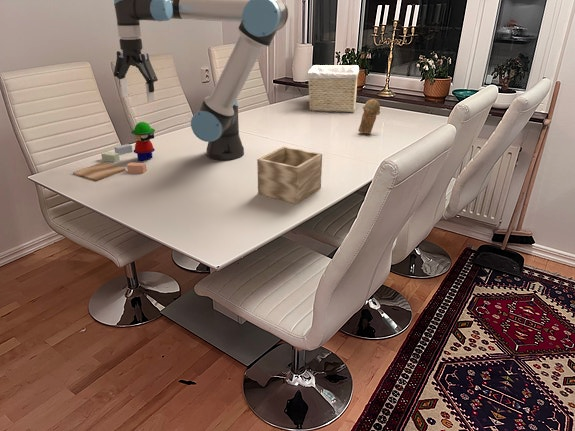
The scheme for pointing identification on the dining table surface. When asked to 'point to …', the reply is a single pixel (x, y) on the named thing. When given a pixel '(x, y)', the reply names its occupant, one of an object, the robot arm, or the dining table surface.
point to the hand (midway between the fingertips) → (137, 98)
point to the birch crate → (289, 174)
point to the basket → (333, 87)
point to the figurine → (369, 116)
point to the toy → (143, 141)
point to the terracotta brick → (136, 168)
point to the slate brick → (123, 149)
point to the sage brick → (110, 156)
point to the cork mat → (99, 171)
